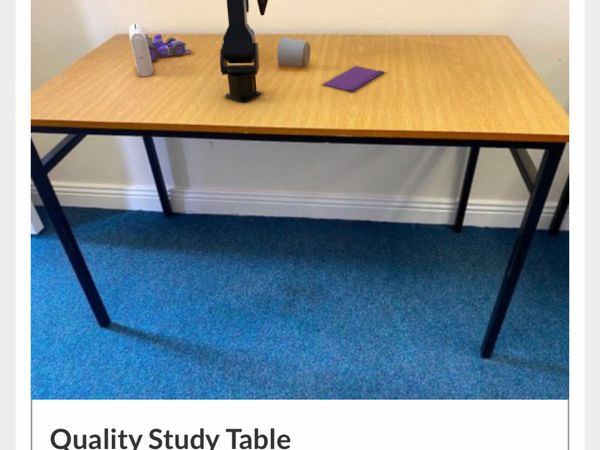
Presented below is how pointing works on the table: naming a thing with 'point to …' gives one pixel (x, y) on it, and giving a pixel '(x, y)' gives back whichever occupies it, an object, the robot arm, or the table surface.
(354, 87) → the cloth
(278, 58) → the ceramic mug
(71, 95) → the table surface
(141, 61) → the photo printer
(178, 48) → the toy race car
